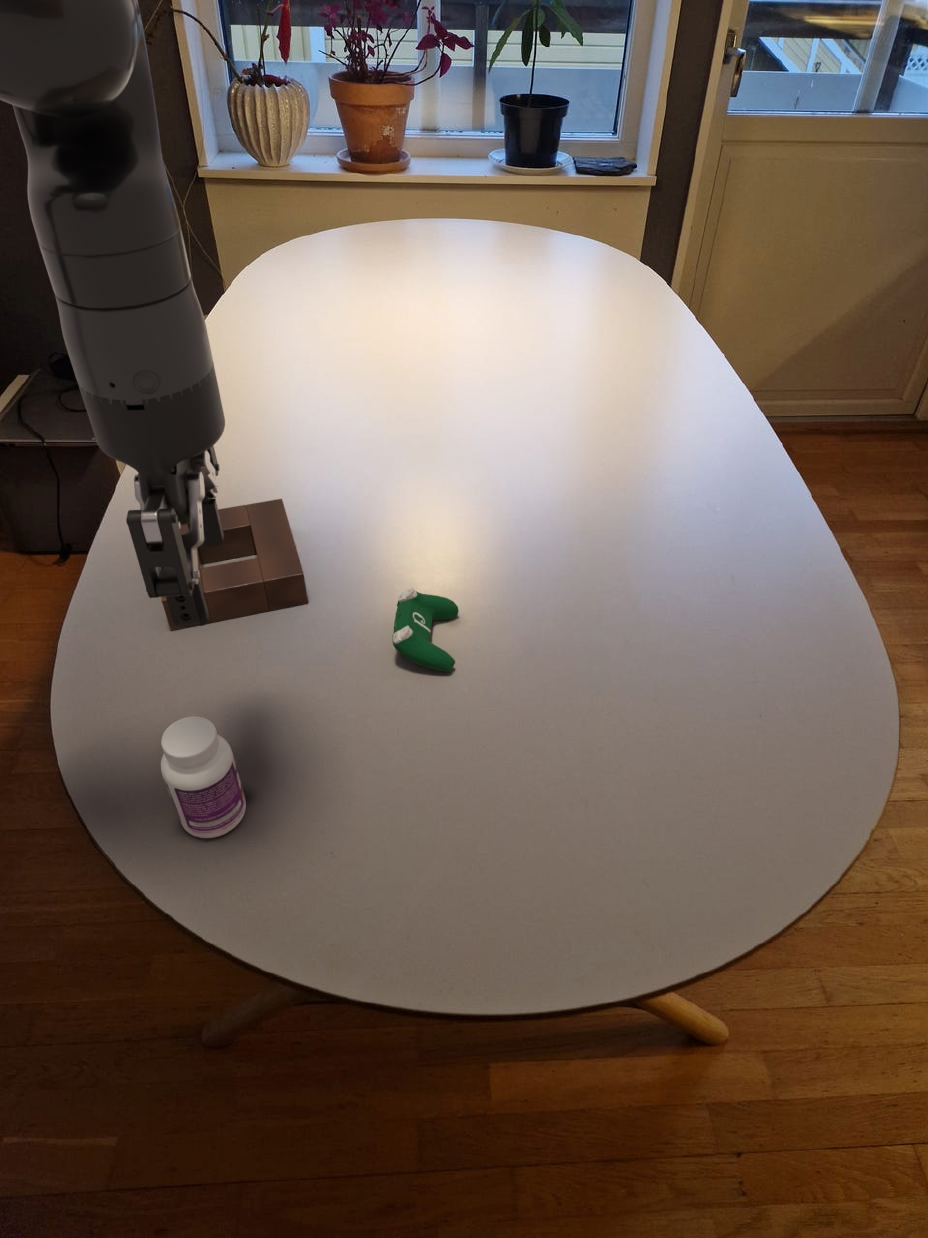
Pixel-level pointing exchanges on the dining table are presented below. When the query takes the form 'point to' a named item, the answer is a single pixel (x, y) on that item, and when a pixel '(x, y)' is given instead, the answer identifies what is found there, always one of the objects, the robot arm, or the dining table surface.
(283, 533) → the holder
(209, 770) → the pill bottle
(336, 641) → the dining table surface
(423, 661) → the gaming controller
